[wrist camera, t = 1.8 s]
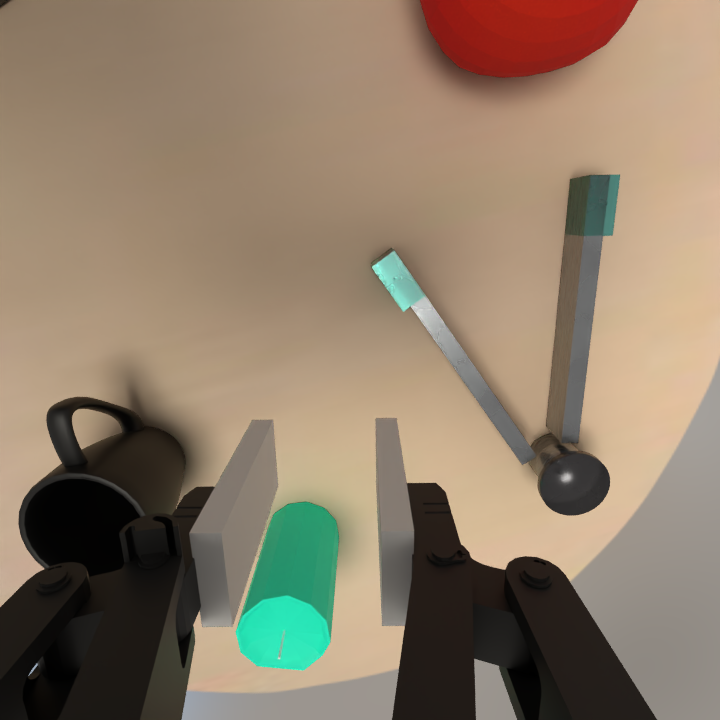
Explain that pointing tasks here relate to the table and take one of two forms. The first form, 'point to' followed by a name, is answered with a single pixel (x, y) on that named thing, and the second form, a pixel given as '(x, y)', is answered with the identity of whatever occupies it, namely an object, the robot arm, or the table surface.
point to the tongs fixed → (575, 353)
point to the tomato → (522, 32)
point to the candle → (292, 590)
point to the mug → (99, 488)
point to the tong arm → (448, 347)
